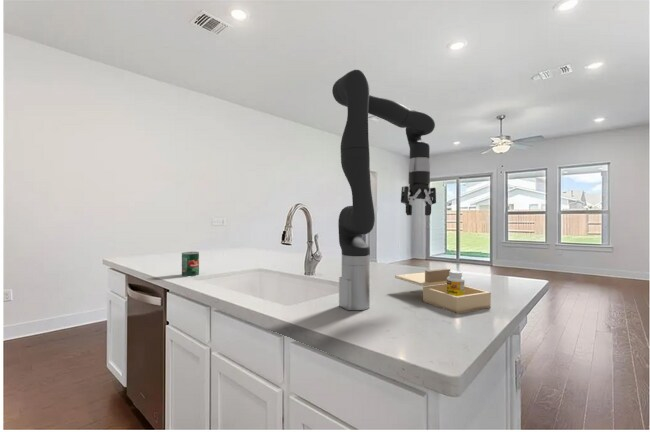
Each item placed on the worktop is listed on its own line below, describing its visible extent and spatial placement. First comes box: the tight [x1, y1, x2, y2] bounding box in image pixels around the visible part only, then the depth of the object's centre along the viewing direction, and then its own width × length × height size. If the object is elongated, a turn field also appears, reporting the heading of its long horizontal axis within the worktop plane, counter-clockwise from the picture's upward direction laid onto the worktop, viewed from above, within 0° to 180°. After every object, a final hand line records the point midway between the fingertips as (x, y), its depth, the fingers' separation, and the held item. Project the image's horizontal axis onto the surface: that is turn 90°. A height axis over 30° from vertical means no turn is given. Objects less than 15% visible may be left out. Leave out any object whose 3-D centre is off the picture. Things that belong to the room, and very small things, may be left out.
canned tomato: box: [181, 251, 200, 277], centre depth 159 cm, size 8×8×11 cm
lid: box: [394, 267, 451, 287], centre depth 123 cm, size 16×16×5 cm
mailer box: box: [422, 283, 492, 315], centre depth 110 cm, size 15×15×5 cm
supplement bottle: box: [446, 270, 465, 296], centre depth 110 cm, size 6×6×10 cm
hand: (418, 215), depth 120 cm, fingers open, 8 cm apart
